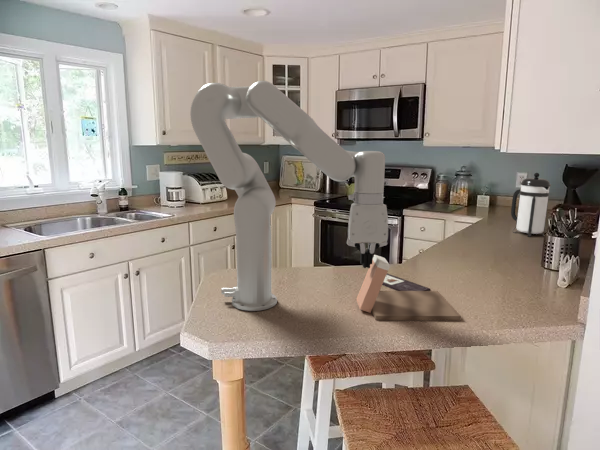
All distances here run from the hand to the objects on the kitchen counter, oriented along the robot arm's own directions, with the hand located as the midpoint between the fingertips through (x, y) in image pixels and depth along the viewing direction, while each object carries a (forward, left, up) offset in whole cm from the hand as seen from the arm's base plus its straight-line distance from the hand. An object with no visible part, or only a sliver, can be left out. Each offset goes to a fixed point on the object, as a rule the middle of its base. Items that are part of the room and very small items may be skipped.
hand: (366, 266), depth 115 cm
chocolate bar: (+14, +19, -13) cm, 27 cm away
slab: (0, 0, -11) cm, 11 cm away
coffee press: (+96, +94, -12) cm, 135 cm away
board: (+13, +1, -12) cm, 17 cm away
